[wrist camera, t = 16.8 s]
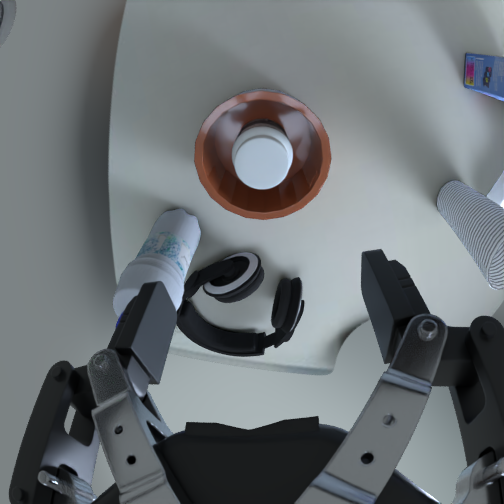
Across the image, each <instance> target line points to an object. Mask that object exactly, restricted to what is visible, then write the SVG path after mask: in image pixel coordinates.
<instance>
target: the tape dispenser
mask: <svg viewBox="0 0 504 504" xmlns="http://www.w3.org/2000/svg"><path fill="white" fill-rule="evenodd" d="M486 197H487V198H489V199H490V200H492V201H494V202H495V203H497V204H498V205H500V206H501V207H503V208H504V171H503V173H502V174H501V176H500V177H499V179H498V180H497V182H496V183H495V185H494V186H493V187H492V189H491V190H490V192H489V193H488V194H487V196H486Z"/></svg>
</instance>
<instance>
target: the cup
mask: <svg viewBox="0 0 504 504" xmlns="http://www.w3.org/2000/svg"><path fill="white" fill-rule="evenodd" d="M437 207H438V211H439V212H440V213H441V215H442V216H443V217H444V219H445V220H446V221H447V223H448V224H449V225H450V227H451V228H452V229H453V231H454V232H455V233H456V235H457V236H458V238H459V239H460V240H461V242H462V243H463V245H464V246H465V248H466V249H467V251H468V252H469V253H470V255H471V256H472V258H473V260H474V261H475V263H476V264H477V266H478V267H479V269H480V270H481V272H482V274H483V275H484V277H485V279H486V280H487V282H488V284H489V285H490V287H491V288H493V289H497V290H500V289H504V208H503V207H501V206H500V205H498V204H497V203H495V202H494V201H492V200H490V199H489V198H487V197H486V196H484V195H482V194H481V193H479V192H478V191H476V190H474V189H473V188H471V187H469V186H467V185H466V184H464V183H462V182H460V181H459V180H452V181H450V182H448V183H446V184H445V185H444V186H443V187H442V188H441V190H440V192H439V194H438V197H437Z"/></svg>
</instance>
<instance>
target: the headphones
mask: <svg viewBox="0 0 504 504" xmlns="http://www.w3.org/2000/svg"><path fill="white" fill-rule="evenodd" d="M263 278H264V270H263V268H262V266H261V260H260V258H259V256H258V255H256V254H254V253H248V252H243V253H238V254H234V255H232V256H229V257H227V258H225V259H224V260H222V261H219V262H217V263H214V264H212V265H209V266H207V267H205V268H203V269H201V270H200V271H195V272H194V273H192V274H191V276H190V277H189V278H188V279H187V281H186V283H185V284H184V293H183V296H182V302H181V305H180V306H179V308H178V310H177V322H176V324H177V326H178V328H179V329H180V330H181V331H182V332H183V334H184V335H185V336H187V337H188V338H189V339H190V340H191V341H193V342H194V343H196V344H198V345H199V346H202V347H204V348H206V349H208V350H211V351H214V352H217V353H221V354H225V355H230V356H241V357H248V356H259V355H264V351H265V348H268V347H270V346H272V345H274V347H275V348H277V347H278V346H280V345H281V344H282V343H283V342H287V341H289V340H290V338H291V337H292V335H293V333H294V330H295V328H296V326H297V324H298V323H299V321H300V318H301V316H302V314H303V310H304V300H301V299H302V281H301V280H300V278H299V277H297V278H294V279H292V280H289V279H283V280H281V281H280V283H279V285H278V288H277V291H276V295H275V299H274V304H273V309H272V316H271V322H272V325H273V327H274V328H275V332H274V333H272V334H270V335H267V336H266V334H265V332H263V333H257V334H256V333H232V332H227V331H223V330H220V329H217V328H214V327H213V326H211V325H209V324H207V323H206V322H205V321H204V320H202V319H201V317H200V316H199V315H198V314H197V312H196V311H195V309H194V308H193V306H192V303H191V302H189V301H186V298H187V297H188V298H191V297H192V296H193V295H194V294H195V293H196V292H197V291H198V289H199V288H200V286H202V285H203V289H204V291H205V293H206V294H207V295H209V296H212V297H214V298H215V299H216V300H218V301H220V302H223V303H232V302H237V301H240V300H242V299H244V298H246V297H248V296H249V295H251V294H252V293H253V292H254V291H255V290H256V289H257V288H258V287H259V286H260V284H261V283H262V281H263Z"/></svg>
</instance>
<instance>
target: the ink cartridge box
mask: <svg viewBox="0 0 504 504" xmlns="http://www.w3.org/2000/svg"><path fill="white" fill-rule="evenodd" d="M464 87H465V88H468V89H471V90H474V91H477V92H480V93H483V94H485V95H488V96H491V97H493V98H496V99H498V100H501V101H504V57H498V56H490V55H482V54H472V53H466V64H465V80H464Z"/></svg>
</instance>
